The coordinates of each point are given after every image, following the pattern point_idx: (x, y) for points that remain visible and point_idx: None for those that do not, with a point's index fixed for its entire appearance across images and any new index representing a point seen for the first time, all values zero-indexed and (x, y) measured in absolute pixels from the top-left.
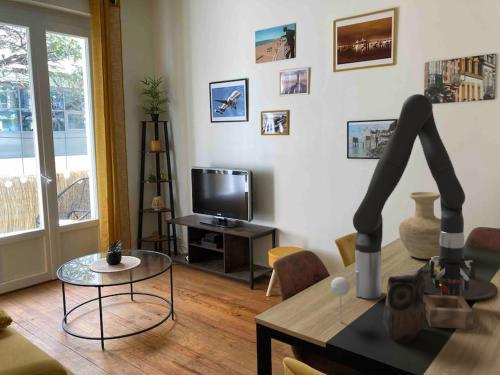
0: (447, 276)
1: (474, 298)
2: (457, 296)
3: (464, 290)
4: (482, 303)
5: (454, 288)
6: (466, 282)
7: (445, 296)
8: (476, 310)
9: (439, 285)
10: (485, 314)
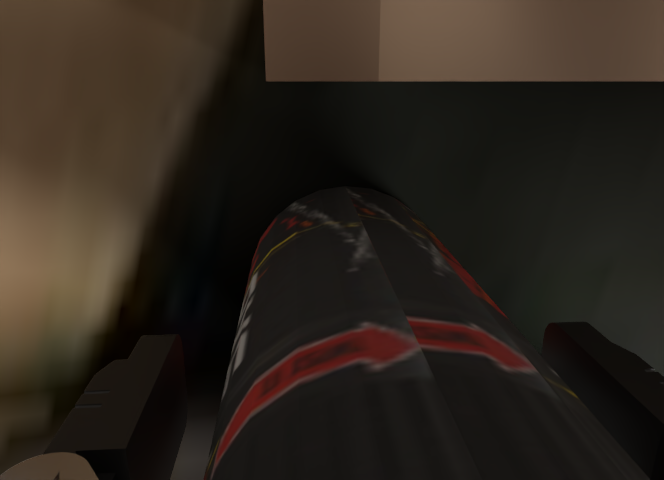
0: (608, 445)
1: None
2: (350, 53)
3: (174, 335)
4: (9, 339)
5: (360, 271)
6: (93, 429)
7: (561, 27)
8: (101, 145)
9: (594, 357)
10: (13, 37)
